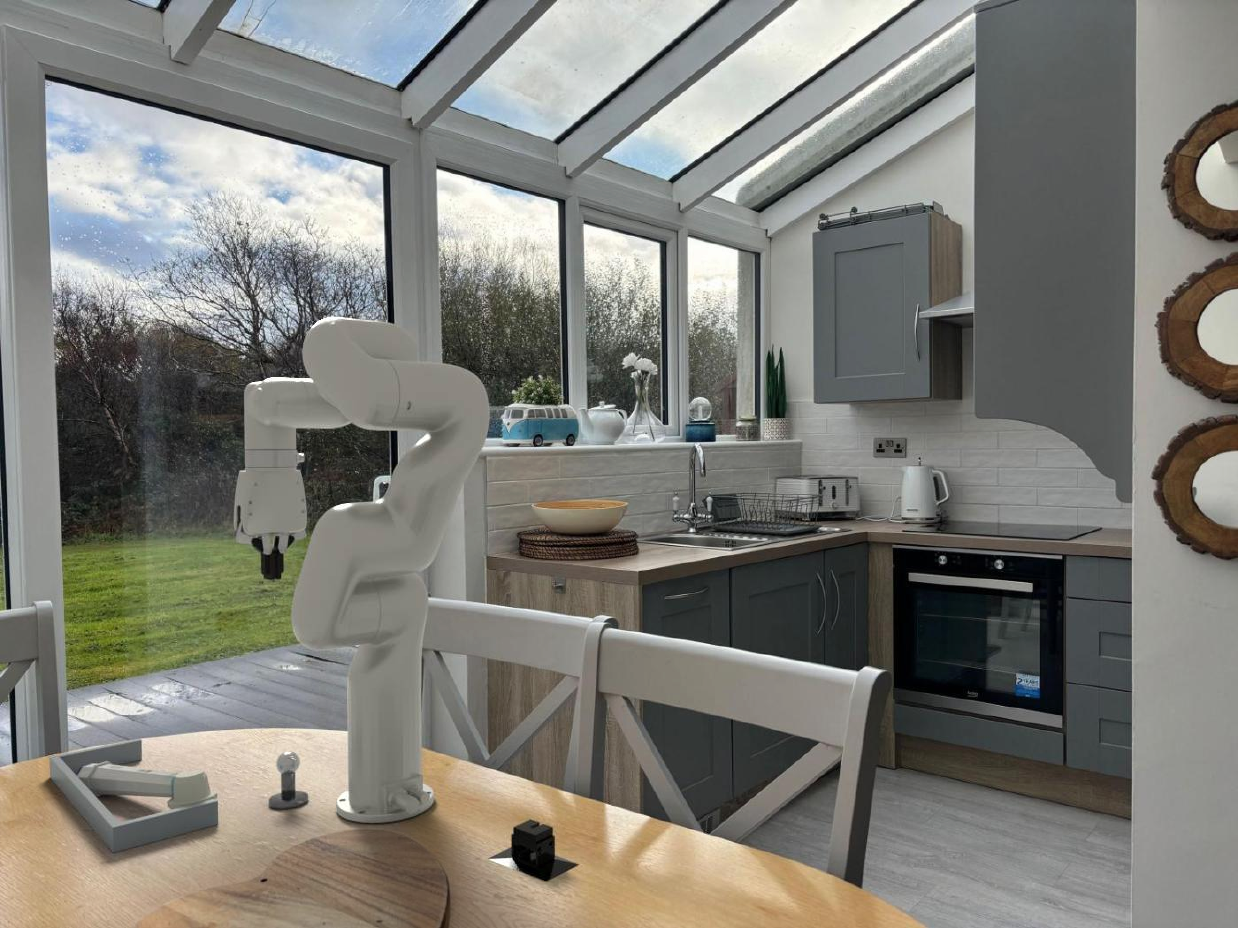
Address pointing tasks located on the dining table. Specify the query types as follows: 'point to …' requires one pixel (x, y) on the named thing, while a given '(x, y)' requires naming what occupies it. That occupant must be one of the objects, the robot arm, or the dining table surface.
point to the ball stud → (288, 784)
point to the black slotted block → (534, 852)
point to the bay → (104, 820)
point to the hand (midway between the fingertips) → (272, 578)
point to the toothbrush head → (147, 783)
